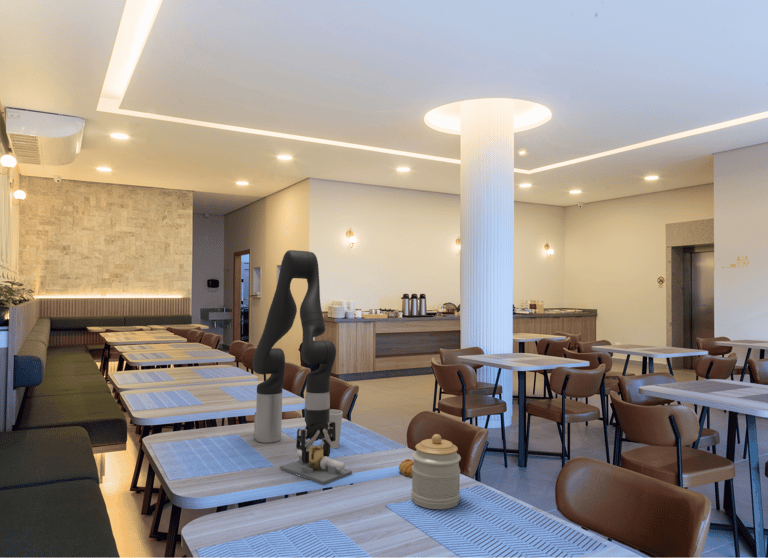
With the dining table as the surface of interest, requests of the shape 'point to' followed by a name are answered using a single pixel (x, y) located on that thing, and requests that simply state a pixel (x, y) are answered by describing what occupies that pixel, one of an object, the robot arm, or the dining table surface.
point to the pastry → (406, 467)
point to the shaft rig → (328, 474)
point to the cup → (337, 418)
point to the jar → (436, 474)
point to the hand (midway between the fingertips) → (316, 459)
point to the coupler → (315, 457)
